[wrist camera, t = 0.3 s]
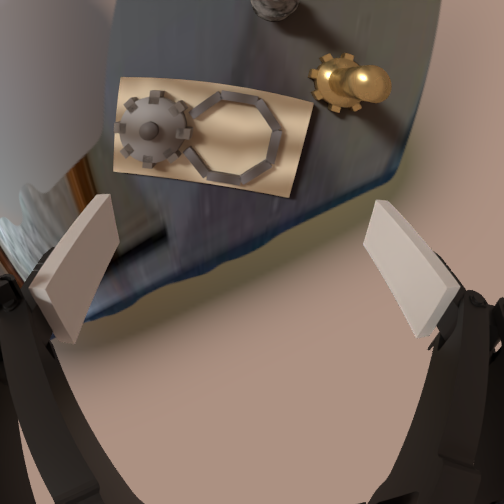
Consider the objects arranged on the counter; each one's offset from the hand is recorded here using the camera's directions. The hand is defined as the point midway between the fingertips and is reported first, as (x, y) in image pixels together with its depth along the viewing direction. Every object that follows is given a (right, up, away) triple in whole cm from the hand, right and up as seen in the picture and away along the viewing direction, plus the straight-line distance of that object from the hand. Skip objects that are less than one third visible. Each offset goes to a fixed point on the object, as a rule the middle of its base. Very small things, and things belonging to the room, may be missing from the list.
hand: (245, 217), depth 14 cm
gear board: (-6, +15, +23) cm, 28 cm away
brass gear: (+12, +21, +19) cm, 31 cm away
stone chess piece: (+3, +31, +13) cm, 33 cm away
